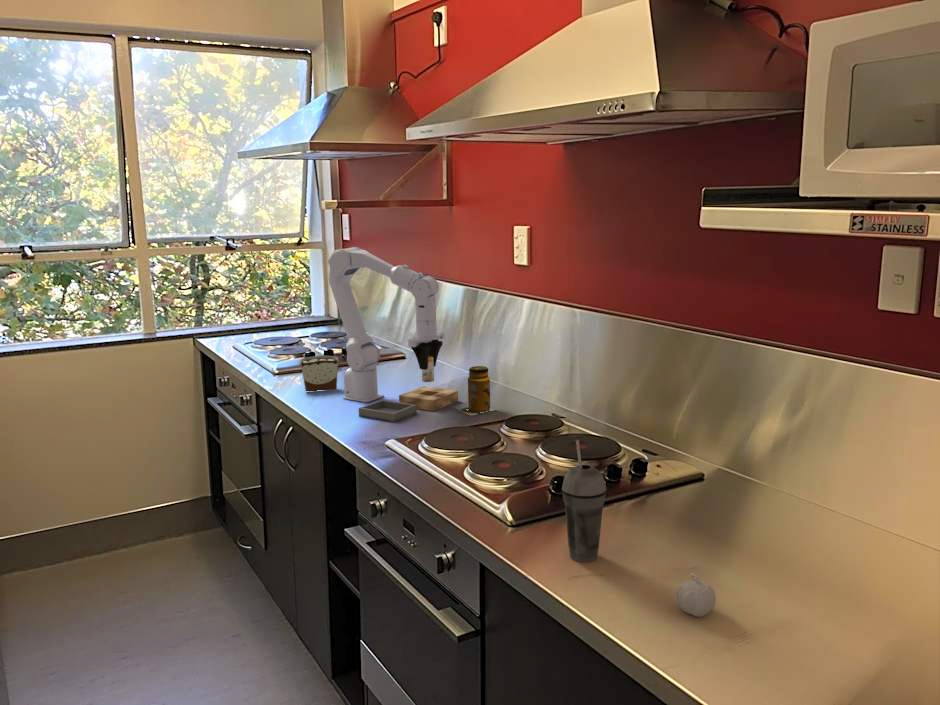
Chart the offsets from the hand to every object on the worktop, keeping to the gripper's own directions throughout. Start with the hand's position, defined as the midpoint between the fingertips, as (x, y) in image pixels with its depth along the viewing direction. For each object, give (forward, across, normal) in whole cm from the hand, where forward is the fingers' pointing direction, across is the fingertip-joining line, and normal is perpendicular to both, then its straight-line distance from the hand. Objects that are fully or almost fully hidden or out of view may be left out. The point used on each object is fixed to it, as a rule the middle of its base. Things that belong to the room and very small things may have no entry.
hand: (427, 367), depth 227 cm
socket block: (+10, 0, 0) cm, 10 cm away
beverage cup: (+11, -67, -79) cm, 104 cm away
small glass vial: (+4, 0, 0) cm, 4 cm away
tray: (+10, -15, +3) cm, 18 cm away
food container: (+11, -2, +40) cm, 41 cm away
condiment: (+11, 0, -16) cm, 19 cm away
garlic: (+11, -75, -100) cm, 125 cm away
